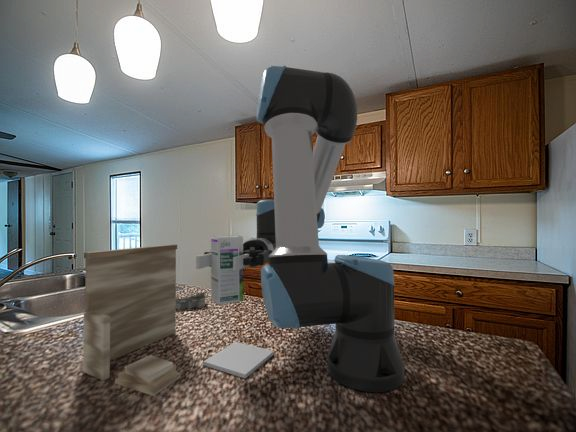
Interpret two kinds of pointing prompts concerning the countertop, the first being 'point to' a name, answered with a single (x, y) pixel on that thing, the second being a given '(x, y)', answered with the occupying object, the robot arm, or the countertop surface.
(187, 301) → the egg carton
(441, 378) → the countertop surface
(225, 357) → the mat
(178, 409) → the countertop surface
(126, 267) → the wood grain panel
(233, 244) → the syrup box
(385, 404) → the countertop surface
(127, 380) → the offcut stack
